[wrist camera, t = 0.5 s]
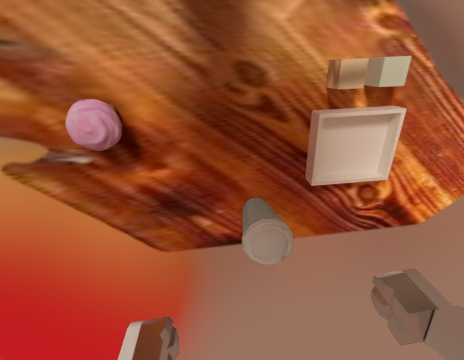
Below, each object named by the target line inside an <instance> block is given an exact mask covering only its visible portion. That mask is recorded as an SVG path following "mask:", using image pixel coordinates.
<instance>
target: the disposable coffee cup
mask: <svg viewBox="0 0 464 360" xmlns="http://www.w3.org/2000/svg"><path fill="white" fill-rule="evenodd" d="M292 245H293V233H292V231H291V229H290V228H289V226H288V224H287V223H284V222H283V221H282V219H281V218H280V217H279V216H278V215H277V213H276V212H275V211H274V210H273V209H272V207H271V206H270V205H269V204H268V203H267V201H266V200H263V199H261V198H259V197H258V198H251V199H249V200H248V201H246V203H245V204H244V206H243V236H242V248H243V250H244V252H245V253H246V254H247V256H248V257H249V258H250V259H252V260H253V261H255V262H257V263H259V264H262V265H274V264H277V263H279V262H281V261H283V260H284V259H285V258H286V257H287V256H288V255H289V253H290V252H291V251H292Z"/></svg>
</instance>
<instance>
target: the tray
mask: <svg viewBox="0 0 464 360" xmlns="http://www.w3.org/2000/svg"><path fill="white" fill-rule="evenodd" d="M406 109H407V108H402V107H398V106H377V107H361V108H345V109H329V110H313V111H312V115H311V125H310V135H309V145H308V155H307V165H306V175H305V179H306V180H307V181H308V182H309V183H310V185H311V186H316V185H328V184H340V183H353V182H365V181H378V180H388V176H389V172H390V169H391V165H392V161H393V157H394V154H395V150H396V146H397V143H398V139H399V135H400V131H401V128H402V124H403V120H404V117H405V113H406Z"/></svg>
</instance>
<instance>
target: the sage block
mask: <svg viewBox="0 0 464 360" xmlns="http://www.w3.org/2000/svg"><path fill="white" fill-rule="evenodd" d="M411 57H412V56H399V57H379V58H369V60H368V66H367V71H366V77H365V82H364V85H366V86H374V87H389V86H404V84H405V80H406V76H407V72H408V68H409V64H410V60H411Z"/></svg>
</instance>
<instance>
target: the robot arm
mask: <svg viewBox="0 0 464 360" xmlns="http://www.w3.org/2000/svg"><path fill="white" fill-rule="evenodd" d="M372 282H373V284H374V285H375V287H374V288H373V289H372V290H371V298H372V302H373V304H374V307H375V309H376V310H377V312H378V313H379V315H380V316H382V317H383V318H385V319H387V320H388V328H389V329H390V331H391V333H392V334H393V335H394V337H395V338H396V340H397V341H398V343H399V344H400V345H406V344H413V343H418V342H424V343H425V344H426V345H427V346H429V347H430V348H432V349H433V350H434V351H436V352H437V353H438V354H440V355H441V356H442V357H444V358H445V359H447V360H464V308H462V307H460V306H454V305H452V303H450V302H449V301H448V300H447V299H446V298H445V297H444V296H443V295H442V294H441V293H440V292H439V291H438V290H437V289H436V288H435V287H434V286H433V285H432V284H431V283H430V282H429V281H428V280H427V279H426V278H425V277H424V276H423V275H422V274H421V273H420V272H419V271H418V270H416V269H408V270H403V271H395V272H391V273H386V274H382V275H377V276H374V277H373V281H372ZM172 323H173V321H172V319H171V317H170V316H168V317H162V318H157V319H151V320H144V321H139V322H134V323H131V324H130V326H129V327H128V329H127V332H126V335H125V338H124V342H123V345H122V348H121V351H120V355H119V358H118V360H175V359H176V357H177V356H178V353H179V336H178V331H177V329H176V328H175V327H173V326H172Z"/></svg>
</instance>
